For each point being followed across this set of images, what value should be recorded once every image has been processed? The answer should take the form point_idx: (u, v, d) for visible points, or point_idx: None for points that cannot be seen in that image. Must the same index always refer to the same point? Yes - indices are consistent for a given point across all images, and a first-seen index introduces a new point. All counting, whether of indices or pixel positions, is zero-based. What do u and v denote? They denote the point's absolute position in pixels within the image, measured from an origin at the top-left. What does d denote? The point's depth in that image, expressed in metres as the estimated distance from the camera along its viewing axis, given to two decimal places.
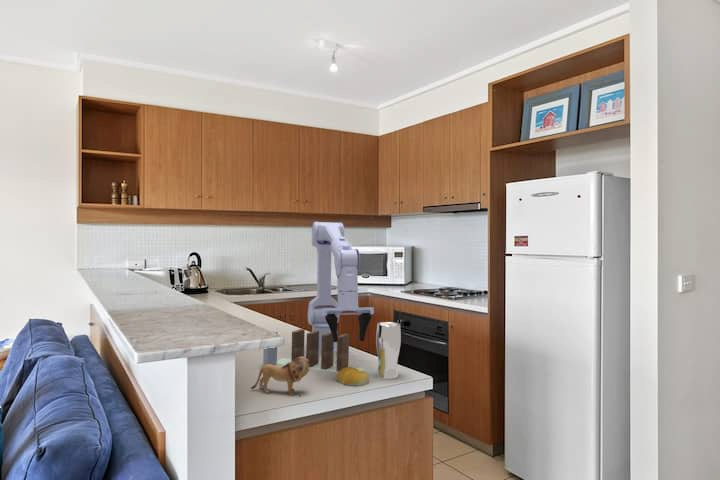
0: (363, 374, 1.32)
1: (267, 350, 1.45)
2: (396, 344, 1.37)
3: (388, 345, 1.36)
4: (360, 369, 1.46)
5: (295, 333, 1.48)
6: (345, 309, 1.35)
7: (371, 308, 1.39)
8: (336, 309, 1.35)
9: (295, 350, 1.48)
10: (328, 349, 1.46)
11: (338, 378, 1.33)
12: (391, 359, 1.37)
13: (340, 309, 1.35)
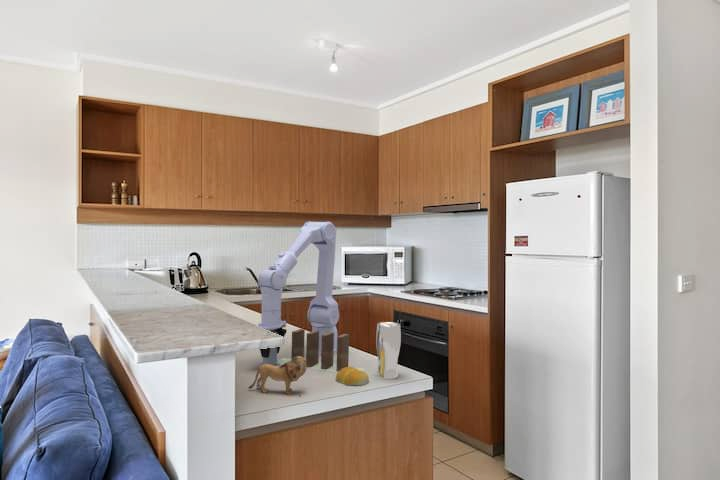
0: (363, 374, 1.32)
1: None
2: (396, 344, 1.37)
3: (388, 345, 1.36)
4: (360, 369, 1.46)
5: (295, 333, 1.48)
6: None
7: None
8: None
9: (295, 350, 1.48)
10: (328, 349, 1.46)
11: (338, 378, 1.33)
12: (391, 359, 1.37)
13: None
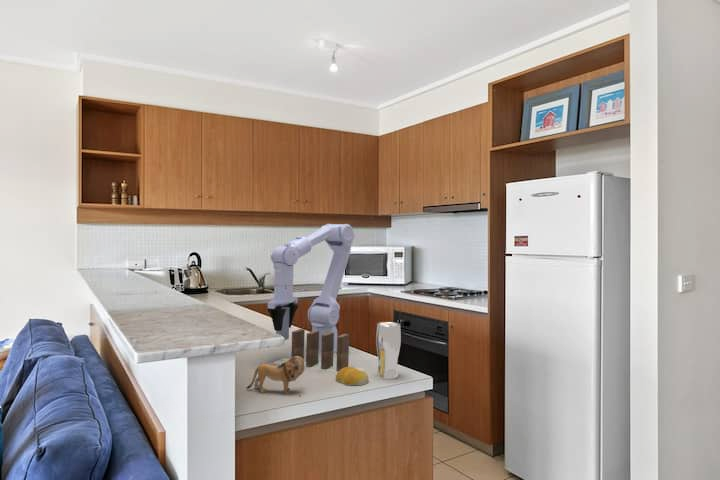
0: (363, 374, 1.32)
1: None
2: (396, 344, 1.37)
3: (388, 345, 1.36)
4: (360, 369, 1.46)
5: (295, 333, 1.48)
6: None
7: None
8: None
9: (295, 350, 1.48)
10: (328, 349, 1.46)
11: (338, 378, 1.33)
12: (391, 359, 1.37)
13: None
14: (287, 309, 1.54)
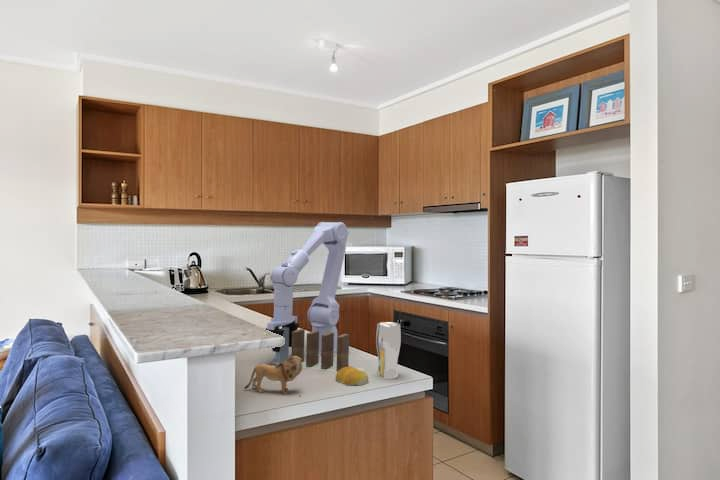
0: (363, 374, 1.32)
1: None
2: (396, 344, 1.37)
3: (388, 345, 1.36)
4: (360, 369, 1.46)
5: (295, 333, 1.48)
6: None
7: None
8: None
9: (295, 350, 1.48)
10: (328, 349, 1.46)
11: (338, 378, 1.33)
12: (391, 359, 1.37)
13: None
14: (286, 330, 1.54)
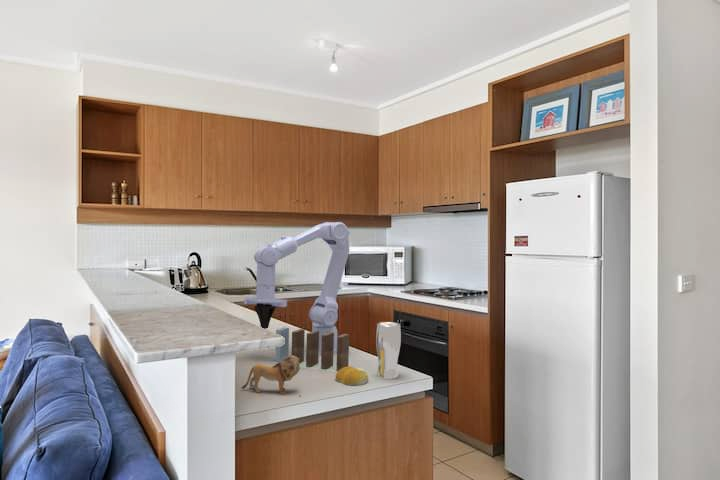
0: (362, 373, 1.32)
1: None
2: (396, 344, 1.37)
3: (388, 345, 1.36)
4: (360, 369, 1.46)
5: (295, 333, 1.48)
6: (256, 301, 1.53)
7: (281, 302, 1.52)
8: (251, 299, 1.55)
9: (295, 350, 1.48)
10: (328, 349, 1.46)
11: (337, 378, 1.33)
12: (391, 359, 1.37)
13: (253, 300, 1.54)
14: (286, 330, 1.54)
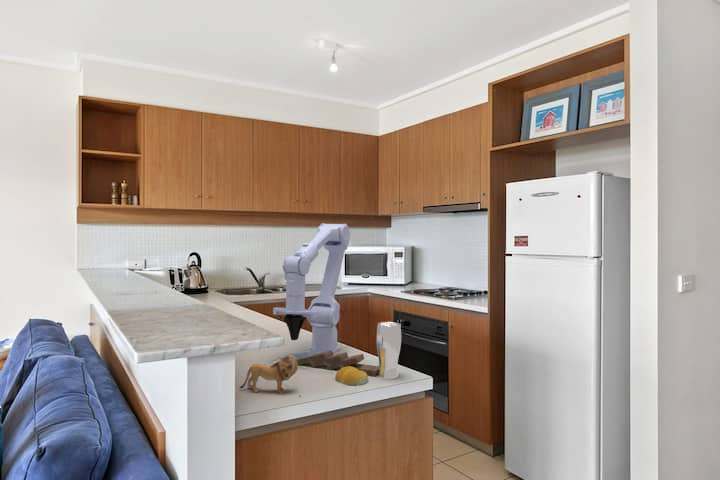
0: (362, 373, 1.33)
1: None
2: (397, 344, 1.37)
3: (389, 345, 1.37)
4: None
5: (324, 358, 1.45)
6: (286, 311, 1.49)
7: (312, 312, 1.48)
8: (281, 310, 1.51)
9: (309, 361, 1.47)
10: None
11: (337, 377, 1.33)
12: (392, 359, 1.37)
13: (283, 311, 1.50)
14: (313, 354, 1.50)
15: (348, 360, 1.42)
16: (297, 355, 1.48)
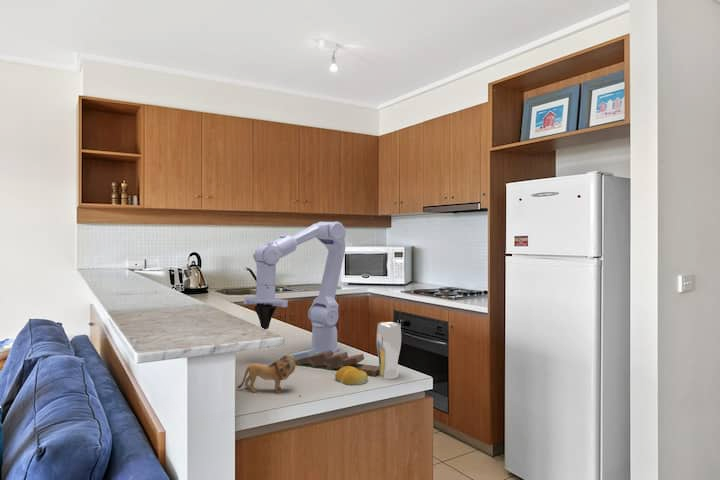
0: (362, 373, 1.33)
1: (295, 359, 1.48)
2: (397, 344, 1.37)
3: (389, 345, 1.36)
4: None
5: (324, 358, 1.45)
6: (256, 301, 1.50)
7: (282, 301, 1.48)
8: (251, 299, 1.51)
9: (309, 361, 1.47)
10: None
11: (337, 377, 1.34)
12: (392, 359, 1.37)
13: (253, 300, 1.51)
14: (313, 354, 1.50)
15: (348, 360, 1.42)
16: (297, 355, 1.48)
